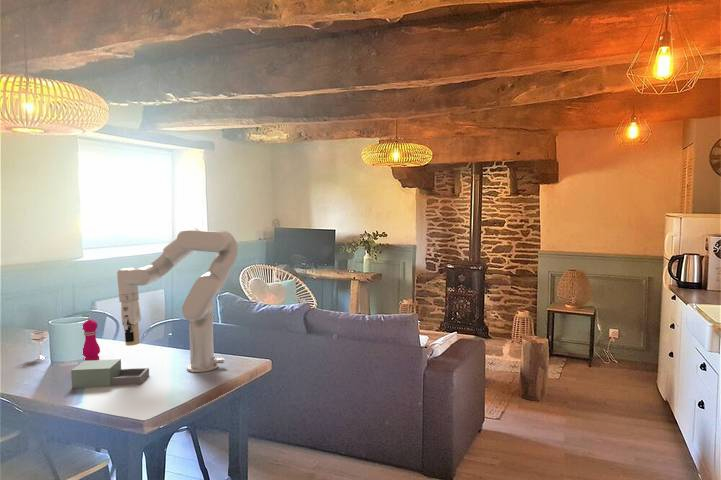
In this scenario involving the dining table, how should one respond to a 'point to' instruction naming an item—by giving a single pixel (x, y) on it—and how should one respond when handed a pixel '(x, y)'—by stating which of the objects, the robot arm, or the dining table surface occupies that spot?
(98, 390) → the dining table surface
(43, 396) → the dining table surface
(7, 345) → the dining table surface
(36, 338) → the wineglass
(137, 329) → the candle
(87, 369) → the green boxy piece
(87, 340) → the pepper mill
